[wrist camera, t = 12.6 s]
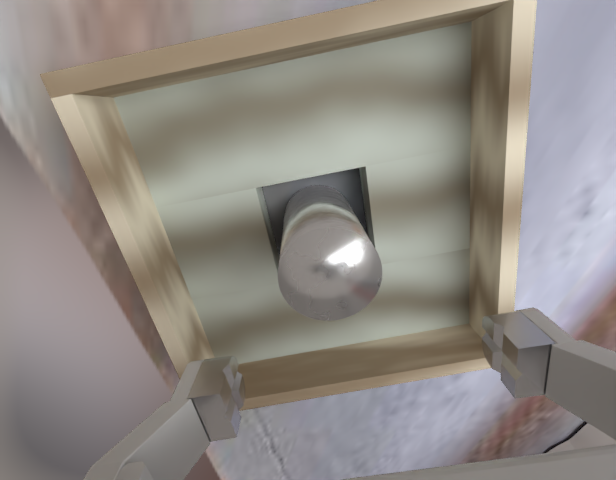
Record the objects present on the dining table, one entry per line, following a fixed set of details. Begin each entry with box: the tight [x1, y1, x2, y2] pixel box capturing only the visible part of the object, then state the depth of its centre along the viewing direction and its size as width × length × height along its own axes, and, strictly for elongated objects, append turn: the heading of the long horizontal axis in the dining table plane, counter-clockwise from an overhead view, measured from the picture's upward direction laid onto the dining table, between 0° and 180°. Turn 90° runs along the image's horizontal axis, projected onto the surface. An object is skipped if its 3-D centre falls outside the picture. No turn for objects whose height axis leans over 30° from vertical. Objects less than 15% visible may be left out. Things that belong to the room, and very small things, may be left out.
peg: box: [278, 185, 382, 321], centre depth 19 cm, size 5×5×9 cm
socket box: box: [40, 0, 537, 411], centre depth 20 cm, size 22×22×6 cm
